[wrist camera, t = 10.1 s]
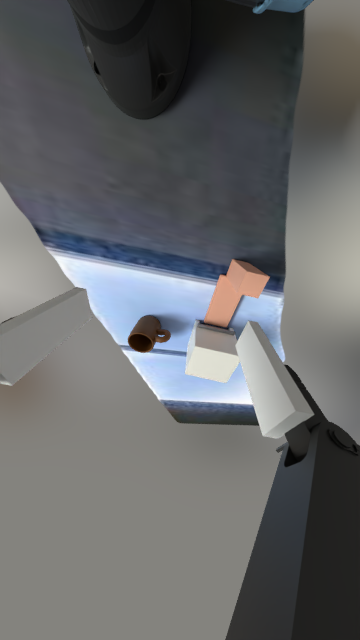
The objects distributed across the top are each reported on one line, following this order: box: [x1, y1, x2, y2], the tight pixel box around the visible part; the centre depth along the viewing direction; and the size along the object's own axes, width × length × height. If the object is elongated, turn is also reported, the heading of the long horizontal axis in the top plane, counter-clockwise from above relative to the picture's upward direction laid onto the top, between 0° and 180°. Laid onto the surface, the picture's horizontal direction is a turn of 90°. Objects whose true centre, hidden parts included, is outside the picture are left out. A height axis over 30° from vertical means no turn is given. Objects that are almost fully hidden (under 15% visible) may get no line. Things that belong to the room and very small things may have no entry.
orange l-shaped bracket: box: [204, 259, 269, 328], centre depth 34 cm, size 18×7×12 cm, turn 169°
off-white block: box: [185, 320, 240, 383], centre depth 42 cm, size 12×12×12 cm
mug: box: [128, 316, 171, 353], centre depth 43 cm, size 12×8×9 cm, turn 100°
